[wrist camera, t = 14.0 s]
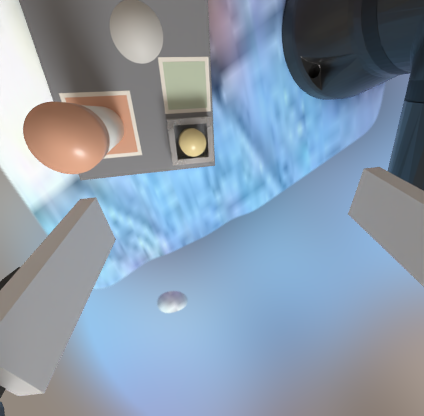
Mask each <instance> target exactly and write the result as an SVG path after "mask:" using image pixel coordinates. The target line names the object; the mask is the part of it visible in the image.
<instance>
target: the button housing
mask: <svg viewBox="0 0 424 416" xmlns="http://www.w3.org/2000/svg"><path fill="white" fill-rule="evenodd" d="M166 122H167V129H168V137H169V144H170V152H171V159H172V164H173V166H175V165H184V164H194V163H203V162H213V161H214V149H213V127H212V117H209V116H204V117H188V118H173V119H166ZM190 124H203V129H204V136H205V138H206V148H205V153H201V154H200V155H198V156H195V157H192V156H188V155H181V156H177V151H176V142H175V134H174V126H176V125H190Z"/></svg>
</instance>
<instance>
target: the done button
mask: <svg viewBox="0 0 424 416" xmlns="http://www.w3.org/2000/svg"><path fill="white" fill-rule="evenodd" d="M178 142H179V145H180V147H181V149H182V151H183V152H184V153H185V154H186V155H188V156H192V157H195V156H198V155H200V154H201V153H203V151H204V150H205V148H206V138H205V136H204V135H203V133H202V132H200V131H199V130H197V129H195V128H186V129H184V130H183V131H182V132H181V133H180V135H179V139H178Z"/></svg>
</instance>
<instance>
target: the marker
mask: <svg viewBox="0 0 424 416" xmlns="http://www.w3.org/2000/svg"><path fill="white" fill-rule="evenodd" d="M23 134H24V139H25V141H26V144H27V146H28V148H29V150H30V151H31V153H32V154H33V155H34V156H35V157H36V158H37V159H38V160H39V161H40V162H41V163H42V164H44V165H45V166H47V167H49V168H51V169H53V170H55V171H58V172H61V173H66V174H79V173H84V172H87V171H89V170H91V169H92V168H94V167H95V166H96V165H97V164H98V163H99V162H100V161H101V160H102V159H103V158H104V157H105V156H106V154H107V153H108V152H109V151H110V150H111V149H112V148H113V147H114V146H116V145H117V144H118V143H119V142H120V141H121V140H122V138H123V136H124V125H123V122H122V120H121V118H120V117H119V115H118V114H117V113H116V112H114V111H113V110H111V109H109V108H106V107H101V106H86V105H79V104H75V103H67V102H46V103H42V104H40V105H38V106H36V107H34V108H33V109H32V110H31V111H30V112H29V113H28V115H27V116H26V118H25V121H24V126H23Z"/></svg>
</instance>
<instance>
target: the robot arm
mask: <svg viewBox="0 0 424 416" xmlns="http://www.w3.org/2000/svg"><path fill="white" fill-rule="evenodd" d="M283 48H284V55H285V59H286V63H287V66H288V69H289V71H290V73H291V75H292V77H293V79H294V80H295V82H296V83H297V85H298V86H299V87H300V88H301V89H302V90H303V91H304V92H306V93H307V94H309V95H311V96H313V97H315V98H318V99H325V100H329V99H344V98H348V97H352V96H355V95H358V94H360V93H362V92H364V91H366V90H369V89H371V88H373V87H375V86H377V85H379V84H381V83H383V82H386V81H388V80H390V79H392V78H394V77H396V76H398V75H401V74H408V73H410V78H409V82H408V87H407V92H406V96H405V100H404V104H403V108H402V112H401V116H400V121H399V125H398V129H397V134H396V138H395V142H394V146H393V151H392V155H391V159H390V163H389V168H388V171H386V170H384V169H382V168H380V167H375V168H366V169H364V170H363V173H362V176H361V179H360V182H359V184H358V187H357V190H356V193H355V196H354V199H353V201H352V204H351V207H350V210H349V213H348V214H349V216H351V217H352V218H353V219H354V220H355V221H356V222H357V223H358V224H359V225H360V226H361V227H362V228H363V229H364V230H365V231H366V232H367V233H368V234H369V235H370V236H371V237H372V238H373V239H375V240H376V241H377V242H378V243H379V244H380V245H381V246H382V247H383V248H384V249H385V250H386V251H387V252H388V253H389V254H390V255H391V256H392V257H393V258H394V259H395V260H396V261H397V262H398V263H400V264H401V265H402V266H403V267H404V268H405V269H406V270H407V271H408V272H409V273H410V274H411V275H412V276H413V277H414V278H415V279H416V280H417V281H418V282H419V283H420V284H421V285H423V286H424V0H287V3H286V8H285V13H284V20H283ZM115 240H116V239H115V237H114V235H113V233H112V231H111V229H110V227H109V224H108V222H107V220H106V218H105V216H104V214H103V212H102V209H101V207H100V205H99V203H98V201H97V199H96V198H87V199H80V200H79V201H78V202H77V203H76V205H75V206H74V207H73V208H72V209H71V210H70V211H69V213H68V214H67V215H66V216H65V217H64V218H63V219H62V221H61V222H60V223H59V224H58V225H57V226H56V227H55V229H54V230H53V231H52V232H51V233H50V234H49V235H48V237H47V238H46V239H45V240H44V241H43V242H42V243H41V245H40V246H39V247H38V248H37V249H36V251H34V253H33V254H32V255H31V256H30V257H29V258H28V259H27V261H26V262H25V263H24V264H23V265H22V266H21V267H18V268H17V269H16V270H14V271H13V272H12V273H10V274H9V275H8V276H7V277H5V278H4V279H2V281H1V282H0V398H1V396H2V394H3V393H4V391H5V389H6V390H8V391H10V392H12V393H13V394H15V395H17V396H23V395H32V394H41V393H45V391H46V388H47V386H48V384H49V382H50V379H51V377H52V375H53V373H54V371H55V369H56V366H57V365H58V363H59V360H60V358H61V356H62V354H63V352H64V350H65V348H66V345H67V343H68V341H69V339H70V337H71V334H72V332H73V330H74V328H75V326H76V324H77V321H78V319H79V317H80V315H81V313H82V311H83V309H84V306H85V304H86V302H87V300H88V298H89V296H90V293H91V291H92V289H93V287H94V285H95V283H96V281H97V279H98V276H99V274H100V272H101V270H102V268H103V266H104V263H105V261H106V259H107V257H108V255H109V253H110V251H111V248H112V246H113V244H114V242H115ZM0 416H5V414H4V407H3V404H2V402H0Z"/></svg>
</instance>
